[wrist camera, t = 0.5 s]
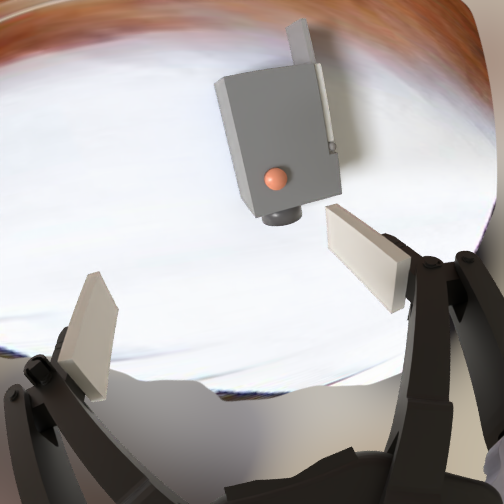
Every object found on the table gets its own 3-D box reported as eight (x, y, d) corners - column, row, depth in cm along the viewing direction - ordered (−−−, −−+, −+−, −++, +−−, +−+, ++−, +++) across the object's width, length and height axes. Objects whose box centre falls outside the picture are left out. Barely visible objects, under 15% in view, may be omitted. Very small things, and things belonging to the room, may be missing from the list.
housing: (213, 83, 33) (224, 76, 26) (295, 69, 34) (325, 62, 27) (245, 215, 42) (262, 241, 35) (317, 195, 44) (346, 216, 36)
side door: (280, 30, 31) (303, 16, 25) (287, 29, 31) (311, 16, 25) (303, 143, 39) (329, 151, 33) (310, 141, 39) (336, 150, 33)
